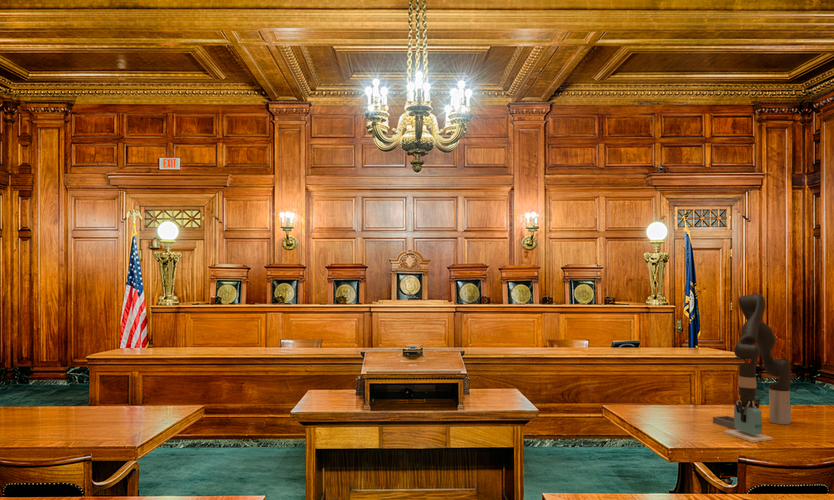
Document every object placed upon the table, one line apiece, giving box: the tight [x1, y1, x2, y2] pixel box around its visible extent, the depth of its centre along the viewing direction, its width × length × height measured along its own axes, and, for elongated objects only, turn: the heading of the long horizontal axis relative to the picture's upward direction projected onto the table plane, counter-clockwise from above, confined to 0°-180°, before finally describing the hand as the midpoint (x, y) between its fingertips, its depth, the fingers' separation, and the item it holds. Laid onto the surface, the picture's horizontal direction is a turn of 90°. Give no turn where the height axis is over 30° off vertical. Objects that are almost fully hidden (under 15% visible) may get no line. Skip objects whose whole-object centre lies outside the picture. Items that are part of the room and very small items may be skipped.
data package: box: [733, 405, 763, 435], centre depth 273 cm, size 12×4×12 cm, turn 15°
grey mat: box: [722, 429, 774, 443], centre depth 272 cm, size 13×16×1 cm
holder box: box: [712, 415, 737, 430], centre depth 292 cm, size 10×17×3 cm, turn 20°
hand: (747, 421), depth 273 cm, fingers closed on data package, 4 cm apart
